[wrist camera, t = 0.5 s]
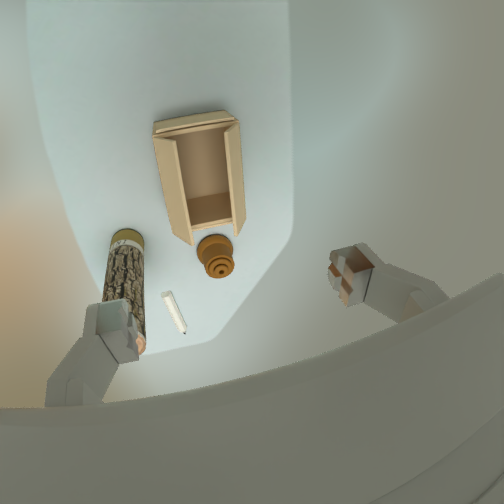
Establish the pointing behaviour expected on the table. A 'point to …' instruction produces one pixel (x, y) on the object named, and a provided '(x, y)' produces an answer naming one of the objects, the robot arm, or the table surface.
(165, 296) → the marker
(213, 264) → the ornamental finial
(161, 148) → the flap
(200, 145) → the carton
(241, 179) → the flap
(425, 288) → the robot arm
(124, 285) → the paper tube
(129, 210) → the table surface
